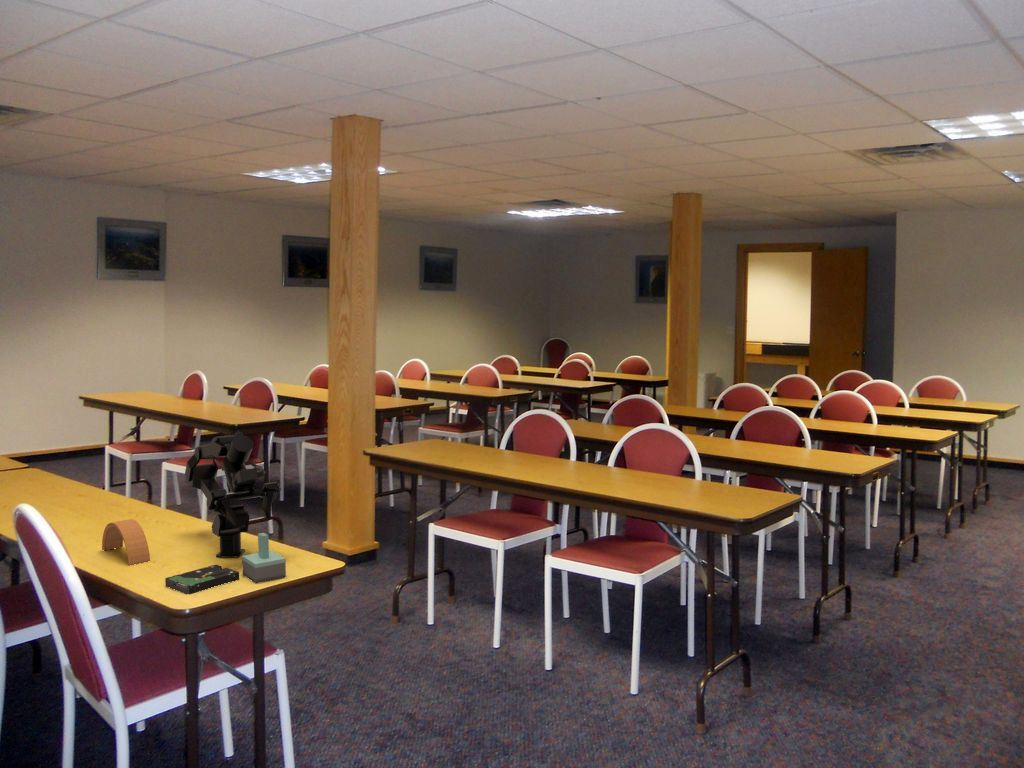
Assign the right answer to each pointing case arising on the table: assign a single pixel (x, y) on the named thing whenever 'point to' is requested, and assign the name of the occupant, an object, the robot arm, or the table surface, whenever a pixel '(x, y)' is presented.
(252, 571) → the tub
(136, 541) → the arch
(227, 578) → the disk drive
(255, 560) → the lid
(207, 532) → the table surface
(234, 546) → the robot arm
